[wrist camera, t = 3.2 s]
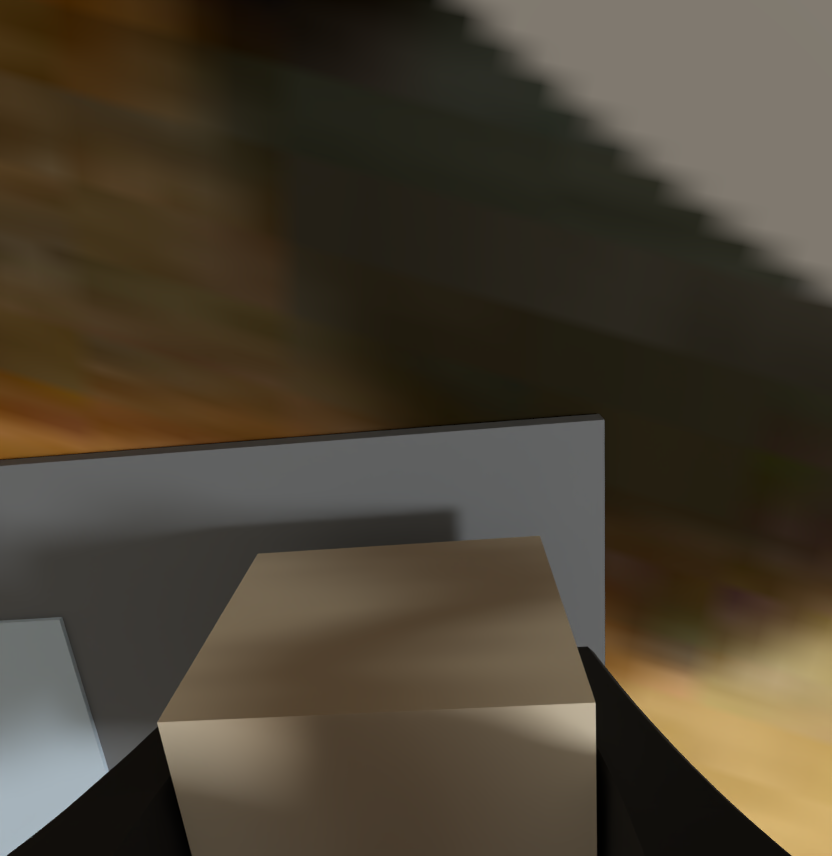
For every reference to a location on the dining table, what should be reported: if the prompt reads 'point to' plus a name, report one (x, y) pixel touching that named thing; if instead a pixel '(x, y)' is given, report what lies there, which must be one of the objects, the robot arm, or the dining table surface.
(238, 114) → the dining table surface
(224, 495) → the grey mat
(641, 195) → the dining table surface
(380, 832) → the birch brick
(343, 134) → the dining table surface
